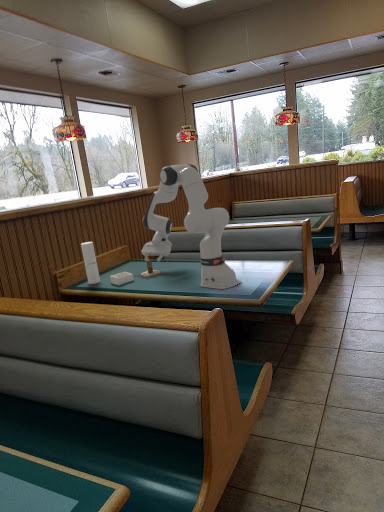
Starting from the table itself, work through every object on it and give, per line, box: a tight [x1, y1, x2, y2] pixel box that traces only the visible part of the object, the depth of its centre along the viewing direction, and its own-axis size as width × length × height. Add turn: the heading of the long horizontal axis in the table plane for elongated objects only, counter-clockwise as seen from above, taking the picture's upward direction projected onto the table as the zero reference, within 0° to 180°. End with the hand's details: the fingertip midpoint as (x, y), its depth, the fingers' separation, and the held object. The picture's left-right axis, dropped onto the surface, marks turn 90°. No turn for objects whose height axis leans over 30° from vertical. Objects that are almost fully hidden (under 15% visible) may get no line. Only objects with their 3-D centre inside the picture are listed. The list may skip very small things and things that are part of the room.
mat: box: [134, 270, 169, 281], centre depth 236 cm, size 16×16×1 cm
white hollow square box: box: [109, 271, 134, 286], centre depth 229 cm, size 10×10×4 cm
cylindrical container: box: [80, 241, 101, 285], centre depth 234 cm, size 7×7×25 cm
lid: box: [140, 259, 161, 277], centre depth 235 cm, size 12×12×9 cm
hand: (152, 260), depth 237 cm, fingers open, 8 cm apart
